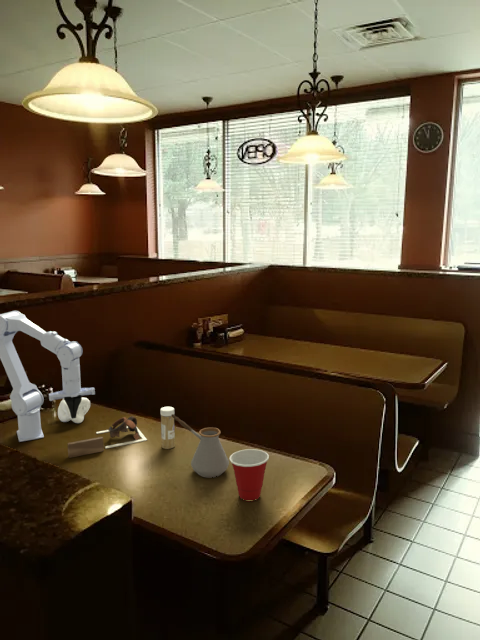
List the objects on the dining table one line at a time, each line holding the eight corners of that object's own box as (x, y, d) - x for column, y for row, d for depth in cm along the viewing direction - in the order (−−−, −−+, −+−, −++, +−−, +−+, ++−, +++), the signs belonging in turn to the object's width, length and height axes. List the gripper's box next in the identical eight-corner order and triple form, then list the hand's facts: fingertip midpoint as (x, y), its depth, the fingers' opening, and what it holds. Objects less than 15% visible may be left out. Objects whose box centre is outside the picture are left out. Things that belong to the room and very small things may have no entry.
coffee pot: (236, 469, 158) (236, 423, 155) (213, 485, 149) (213, 436, 146) (183, 451, 170) (182, 408, 167) (159, 464, 161) (157, 419, 158)
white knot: (84, 411, 204) (82, 390, 203) (97, 420, 195) (95, 398, 193) (55, 418, 197) (53, 396, 195) (67, 428, 188) (66, 405, 186)
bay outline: (96, 432, 184) (96, 432, 184) (135, 425, 191) (135, 424, 191) (105, 448, 172) (105, 447, 172) (147, 440, 178) (147, 439, 178)
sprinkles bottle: (175, 449, 172) (174, 410, 169) (161, 449, 171) (160, 411, 169) (175, 443, 176) (174, 405, 174) (161, 443, 176) (160, 406, 173)
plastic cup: (245, 482, 150) (246, 443, 148) (276, 494, 144) (277, 454, 141) (221, 497, 142) (221, 456, 140) (252, 511, 136) (252, 468, 133)
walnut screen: (68, 456, 166) (67, 443, 165) (102, 449, 171) (102, 436, 170) (69, 457, 165) (68, 444, 164) (103, 450, 170) (103, 438, 169)
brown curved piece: (135, 446, 175) (122, 427, 173) (114, 453, 179) (101, 435, 176) (148, 424, 185) (136, 406, 183) (128, 432, 189) (116, 414, 187)
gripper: (50, 385, 166) (52, 425, 168) (96, 379, 172) (97, 417, 175) (47, 379, 172) (49, 417, 174) (91, 373, 178) (93, 410, 181)
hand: (73, 417), depth 175 cm, fingers closed
